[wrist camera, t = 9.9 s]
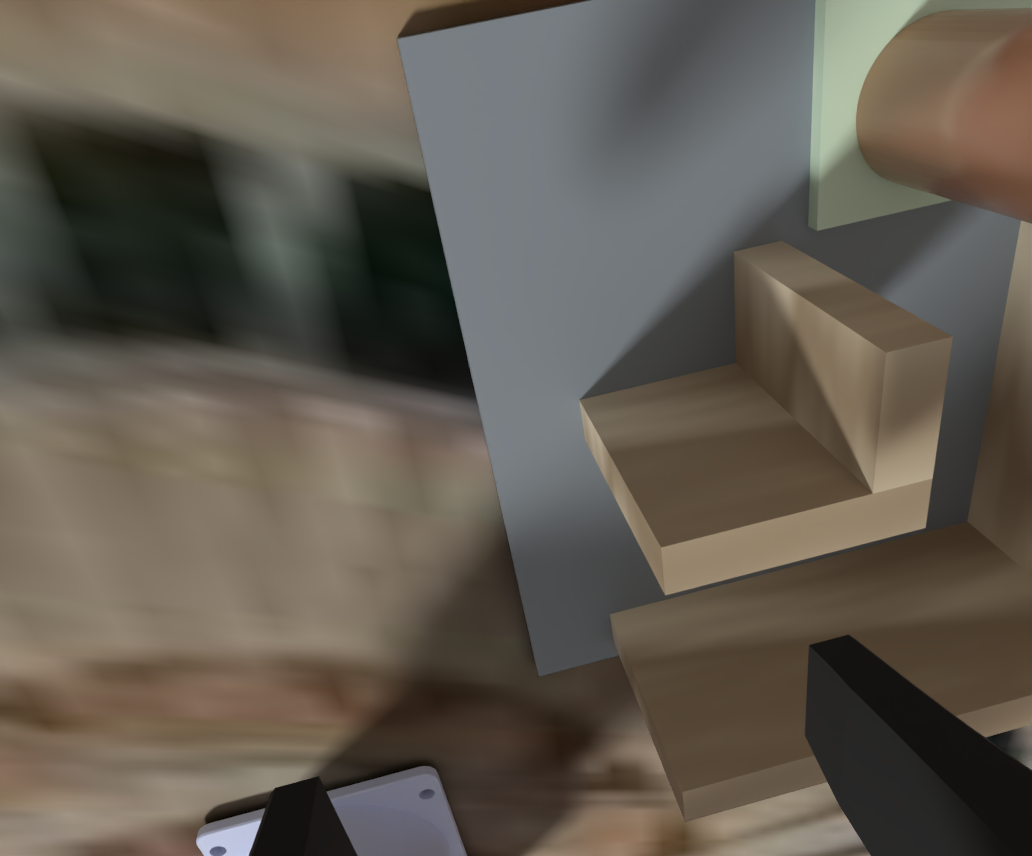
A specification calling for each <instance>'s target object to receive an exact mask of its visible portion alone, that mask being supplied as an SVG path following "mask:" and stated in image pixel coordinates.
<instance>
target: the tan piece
mask: <svg viewBox="0 0 1032 856" xmlns="http://www.w3.org/2000/svg"><path fill="white" fill-rule="evenodd" d="M734 286H735V340H736V363H733V364H729V365H725V366H721V367H716V368H712V369H708V370H704V371H700V372H695V373H691V374H687V375H683V376H679V377H674V378H670V379H666V380H662V381H658V382H653V383H649V384H645V385H641V386H637V387H632V388H628V389H624V390H620V391H616V392H611V393H607V394H603V395H599V396H595V397H590V398H586V399H582V400H579V401H580V408H581V415H582V422H583V429H584V436H585V441H586V443H587V445H588V447H589V449H590V451H591V453H592V455H593V456H594V458H595V460H596V462H597V464H598V466H599V468H600V470H601V472H602V474H603V476H604V478H605V480H606V482H607V484H608V486H609V487H610V489H611V491H612V493H613V495H614V497H615V499H616V501H617V503H618V505H619V507H620V509H621V511H622V513H623V515H624V517H625V518H626V520H627V522H628V524H629V526H630V528H631V530H632V532H633V534H634V536H635V538H636V540H637V542H638V544H639V546H640V548H641V549H642V551H643V553H644V555H645V557H646V559H647V561H648V563H649V565H650V567H651V569H652V571H653V573H654V575H655V577H656V579H657V580H658V582H659V584H660V586H661V588H662V590H663V592H664V594H665V595H669V594H673V593H677V592H681V591H684V590H688V589H692V588H696V587H700V586H704V585H708V584H711V583H715V582H719V581H723V580H727V579H731V578H735V577H738V576H742V575H746V574H750V573H754V572H758V571H762V570H765V569H769V568H773V567H777V566H781V565H785V564H789V563H792V562H796V561H800V560H804V559H808V558H812V557H816V556H819V555H823V554H827V553H831V552H835V551H839V550H843V549H846V548H850V547H854V546H858V545H862V544H866V543H870V542H873V541H877V540H881V539H885V538H889V537H893V536H897V535H900V534H904V533H908V532H912V531H916V530H920V529H924V528H926V521H927V514H928V507H929V500H930V493H931V486H932V479H933V472H934V465H935V458H936V451H937V444H938V437H939V430H940V423H941V416H942V409H943V402H944V395H945V388H946V381H947V374H948V367H949V360H950V353H951V346H952V339H953V337H952V336H951V335H949V334H947V333H945V332H944V331H942V330H940V329H938V328H936V327H935V326H933V325H931V324H929V323H928V322H926V321H924V320H922V319H920V318H919V317H917V316H915V315H913V314H912V313H910V312H908V311H906V310H904V309H903V308H901V307H899V306H897V305H896V304H894V303H892V302H890V301H888V300H887V299H885V298H883V297H881V296H880V295H878V294H876V293H874V292H872V291H871V290H869V289H867V288H865V287H864V286H862V285H860V284H858V283H856V282H855V281H853V280H851V279H849V278H847V277H846V276H844V275H842V274H840V273H839V272H837V271H835V270H833V269H831V268H830V267H828V266H826V265H824V264H823V263H821V262H819V261H817V260H815V259H814V258H812V257H810V256H808V255H807V254H805V253H803V252H801V251H799V250H798V249H796V248H794V247H792V246H791V245H789V244H787V243H785V242H783V241H778V242H774V243H770V244H765V245H761V246H756V247H752V248H748V249H743V250H739V251H734ZM610 620H611V627H612V634H613V641H614V644H615V647H616V649H617V652H618V654H619V657H620V659H621V662H622V664H623V667H624V669H625V672H626V674H627V677H628V679H629V682H630V684H631V687H632V689H633V692H634V694H635V697H636V699H637V702H638V705H639V707H640V710H641V712H642V715H643V717H644V720H645V722H646V725H647V727H648V730H649V732H650V735H651V737H652V740H653V742H654V745H655V747H656V750H657V752H658V755H659V757H660V760H661V762H662V765H663V767H664V770H665V772H666V775H667V777H668V780H669V782H670V785H671V787H672V790H673V793H674V795H675V798H676V800H677V803H678V805H679V808H680V810H681V813H682V815H683V818H684V820H685V822H686V821H690V820H694V819H697V818H701V817H704V816H708V815H711V814H715V813H718V812H722V811H725V810H729V809H733V808H736V807H740V806H743V805H747V804H750V803H754V802H757V801H761V800H764V799H768V798H772V797H775V796H779V795H782V794H786V793H789V792H793V791H796V790H800V789H804V788H807V787H811V786H814V785H818V784H821V783H825V782H827V780H826V778H825V776H824V774H823V772H822V770H821V768H820V766H819V764H818V762H817V760H816V758H815V756H814V753H813V751H812V749H811V747H810V745H809V743H808V741H807V739H806V737H805V718H806V697H807V676H808V654H809V645H811V644H815V643H818V642H822V641H826V640H830V639H833V638H837V637H841V636H845V635H850V636H852V637H853V638H855V639H856V640H858V641H859V642H860V643H861V644H863V645H864V646H865V647H866V648H868V649H869V650H870V651H872V652H873V653H874V654H875V655H877V656H878V657H879V658H881V659H882V660H883V661H884V662H886V663H887V664H888V665H889V666H891V667H892V668H893V669H895V670H896V671H897V672H898V673H900V674H901V675H902V676H904V677H905V678H906V679H907V680H909V681H910V682H911V683H913V684H914V685H915V686H917V687H918V688H919V689H920V690H922V691H923V692H924V693H926V694H927V695H928V696H930V697H931V698H932V699H934V700H935V701H936V702H938V703H939V704H940V705H942V706H943V707H944V708H946V709H947V710H948V711H950V712H951V713H952V714H954V715H955V716H956V717H958V718H959V719H960V720H962V721H963V722H964V723H966V724H967V725H969V726H970V727H971V728H973V729H974V730H976V731H977V732H978V733H980V734H981V735H983V736H984V737H988V736H992V735H995V734H999V733H1002V732H1006V731H1009V730H1013V729H1016V728H1020V727H1023V726H1027V725H1031V724H1032V224H1031V223H1028V222H1024V221H1021V224H1020V229H1019V235H1018V241H1017V246H1016V252H1015V257H1014V263H1013V269H1012V274H1011V280H1010V285H1009V291H1008V297H1007V302H1006V308H1005V313H1004V319H1003V324H1002V330H1001V336H1000V341H999V347H998V352H997V358H996V364H995V369H994V375H993V380H992V386H991V392H990V397H989V403H988V408H987V414H986V420H985V425H984V431H983V436H982V442H981V448H980V453H979V459H978V464H977V470H976V476H975V481H974V487H973V492H972V498H971V504H970V509H969V515H968V520H967V522H963V523H959V524H955V525H952V526H948V527H944V528H940V529H936V530H932V531H928V532H925V533H921V534H917V535H913V536H909V537H905V538H901V539H898V540H894V541H890V542H886V543H882V544H878V545H875V546H871V547H867V548H863V549H859V550H855V551H851V552H848V553H844V554H840V555H836V556H832V557H828V558H824V559H821V560H817V561H813V562H809V563H805V564H801V565H798V566H794V567H790V568H786V569H782V570H778V571H774V572H771V573H767V574H763V575H759V576H755V577H751V578H747V579H744V580H740V581H736V582H732V583H728V584H724V585H720V586H717V587H713V588H709V589H705V590H701V591H697V592H694V593H690V594H686V595H682V596H678V597H674V598H670V599H667V600H663V601H659V602H655V603H651V604H647V605H643V606H640V607H636V608H632V609H628V610H624V611H620V612H617V613H613V614H610Z"/></svg>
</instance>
